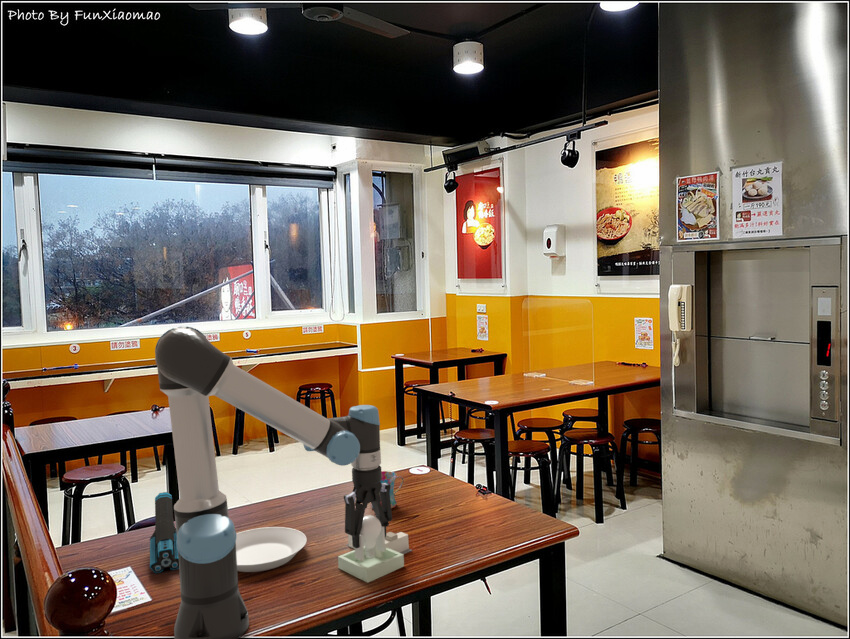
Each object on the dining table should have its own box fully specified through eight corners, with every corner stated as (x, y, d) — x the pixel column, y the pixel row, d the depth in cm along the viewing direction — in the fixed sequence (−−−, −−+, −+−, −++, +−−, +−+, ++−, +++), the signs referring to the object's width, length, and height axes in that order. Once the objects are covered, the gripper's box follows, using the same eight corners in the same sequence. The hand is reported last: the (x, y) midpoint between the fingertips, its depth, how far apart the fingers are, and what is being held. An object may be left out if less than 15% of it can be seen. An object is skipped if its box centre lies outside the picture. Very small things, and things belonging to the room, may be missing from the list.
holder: (384, 565, 165) (383, 543, 165) (345, 547, 177) (344, 526, 177) (412, 553, 172) (411, 531, 171) (373, 536, 184) (372, 516, 184)
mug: (376, 514, 200) (375, 481, 199) (365, 505, 208) (364, 474, 208) (410, 507, 206) (409, 474, 205) (398, 498, 214) (397, 468, 213)
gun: (152, 596, 165) (148, 548, 160) (151, 535, 188) (148, 491, 183) (184, 589, 168) (181, 541, 163) (180, 530, 191) (177, 487, 186)
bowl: (209, 585, 156) (208, 571, 156) (215, 546, 180) (214, 534, 180) (311, 569, 163) (310, 556, 163) (303, 534, 187) (302, 522, 187)
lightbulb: (379, 563, 159) (377, 521, 158) (355, 562, 160) (353, 520, 159) (385, 553, 165) (383, 511, 164) (362, 552, 166) (360, 511, 165)
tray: (367, 582, 154) (366, 570, 154) (338, 568, 163) (337, 556, 162) (404, 566, 162) (403, 554, 162) (374, 553, 171) (374, 542, 171)
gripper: (344, 478, 152) (349, 571, 153) (404, 460, 165) (407, 546, 166) (326, 472, 157) (331, 562, 158) (385, 455, 170) (389, 539, 172)
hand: (370, 554), depth 162 cm, fingers closed on lightbulb, 6 cm apart
